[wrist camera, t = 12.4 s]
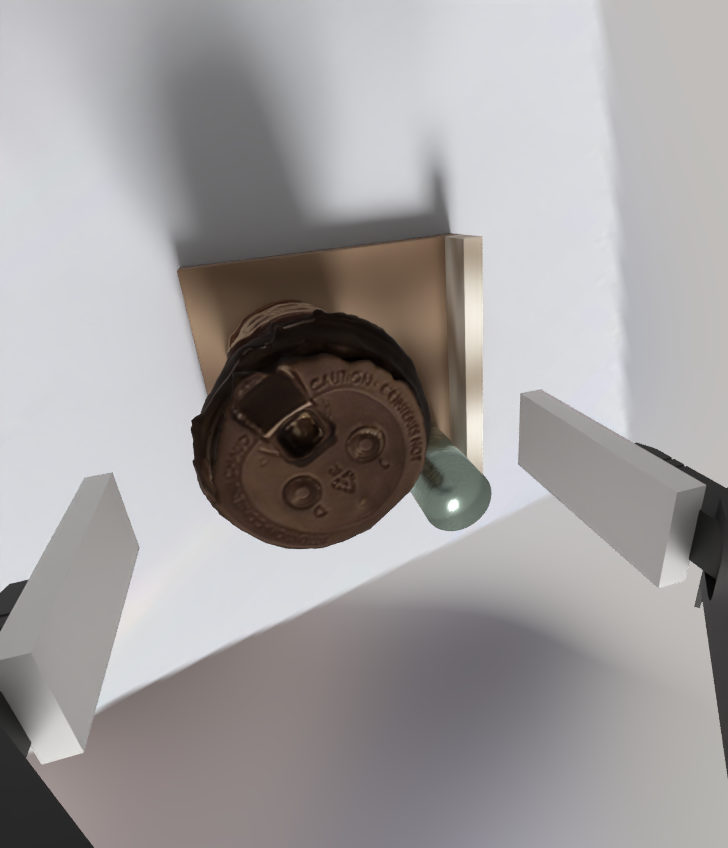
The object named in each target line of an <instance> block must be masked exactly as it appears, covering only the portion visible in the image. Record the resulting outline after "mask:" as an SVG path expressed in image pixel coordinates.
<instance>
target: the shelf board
mask: <svg viewBox="0 0 728 848" xmlns="http://www.w3.org/2000/svg"><path fill="white" fill-rule="evenodd" d="M177 273H178V277H179V281H180V285H181V289H182V293H183V297H184V301H185V306H186V310H187V314H188V318H189V322H190V326H191V330H192V334H193V338H194V342H195V346H196V350H197V354H198V358H199V362H200V366H201V370H202V374H203V378H204V383H205V387H206V391H207V395H209V393H211V391H212V388H213V386H214V384H215V382H216V380H217V378H218V377H219V375H220V373H221V371H222V369H223V367H224V365H225V363H226V361H227V351H228V340H229V337H230V335H231V334H232V333H233V332H234V330H236V328H237V327H238V326H239V324H240V322H241V320H242V319H243V318H244V317H245V316H247V315H248V314H250V313H252V312H253V311H255V310H256V309H258V308H260V307H261V306H263V305H266V304H269V303H272V302H275V301H280V300H283V299H285V300H288V299H295V300H300V301H303V302H306V303H309V304H311V305H315V306H317V307H320V308H322V309H325V310H327V311H329V312H331V313H335V312H344V313H346V314H352V315H356V316H358V317H359V318H362V319H365V320H368V321H370V322H371V323H373V324H376V325H377V326H378V327H380V328H383V329H384V330H385V332H386V333H387V334H389V335H390V336H391V337H393V339H394V340H395V341H396V342H397V343H398V345H399V346H400V347H401V348H402V349H403V350H404V351H405V353H406V354H407V355H408V356H409V357H410V358H411V359H412V361H413V363H414V366H415V368H416V372H417V375H418V377H419V380H420V382H421V384H422V387H423V391H424V394H425V397H426V399H427V402H428V405H429V410H430V415H431V421H432V422H433V423H434V424H435V425H436V426H437V427H438V428H439V429H440V430H441V431H442V432H443V433H444V434H445V435H446V436H447V437H448V438H449V439H450V440H451V442H452V443H453V444H454V445H455V446H456V447H457V448H458V449H459V450H460V451H461V452H462V453H463V454H464V455H465V456H466V457H467V458H468V459H469V460H470V462H471V463H472V464H473V465H474V466H475V467H476V468H477V469H478V470H479V471H480V472H481V473H482V474H483V298H482V236H472V235H462V234H443V235H435V236H427V237H419V238H411V239H404V240H396V241H388V242H380V243H372V244H364V245H356V246H348V247H341V248H333V249H325V250H317V251H309V252H301V253H293V254H285V255H278V256H270V257H262V258H254V259H246V260H238V261H230V262H222V263H215V264H207V265H199V266H191V267H183V268H179V269H178V270H177Z"/></svg>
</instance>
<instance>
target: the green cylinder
mask: <svg viewBox="0 0 728 848" xmlns="http://www.w3.org/2000/svg"><path fill="white" fill-rule="evenodd" d="M425 457H426V462H425V466H424V468H423V469H422V471H421V474H420V475H419V478H418V480H417V481H416V483H415V485H414V487H413V488H412V490H411V491H410V492H411V493H412V495H413V496H414V498H415V500H416V501H417V503H418V504H419V506H420V508H421V509H422V511H423V512H424V514H425V515H426V517H427V519H428V520H429V522H430V523H431V524H432V525H433V526H435V527H436V528H438V529H441V530H445V531H457V530H461V529H464V528H466V527H469V526H470V525H472V524H474V523H475V522H476V521H477V520H479V519H480V518H481V517H482V515H483V514H484V513H485V511H486V510H487V508H488V506H489V503H490V500H491V487H490V484H489V482H488V480H487V479H486V477H485V476H484V475H483V474H482V473H481V472H480V471H479V470H478V469H477V468H476V467H475V466H474V465H473V464H472V463H471V462H470V460H469V459H468V458H467V457H466V456H465V455H464V454H463V453H462V452H461V451H460V450H459V449H458V448H457V447H456V446H455V445H454V444H453V443H452V442H451V440H450V439H449V438H448V437H447V436H446V435H445V434H444V433H443V432H442V431H441V430H440V429H439V428H438V427H437V426H436V425H435V424H434V423H433V422H432V421H431V431H430V440H429V443H428V447H427V451H426V455H425Z"/></svg>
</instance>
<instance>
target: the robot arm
mask: <svg viewBox="0 0 728 848" xmlns="http://www.w3.org/2000/svg"><path fill="white" fill-rule="evenodd" d="M518 464H519V465H520V466H521V467H522V468H523V469H524V470H525V471H526V472H528V473H529V474H530V475H531V476H532V477H533V478H534V479H536V480H537V481H538V482H539V483H540V484H541V485H542V486H543V487H545V488H546V489H547V490H548V491H549V492H550V493H551V494H552V495H554V496H555V497H556V498H557V499H558V500H559V501H560V502H562V503H563V504H564V505H565V506H566V507H567V508H568V509H569V510H571V511H572V512H573V513H574V514H575V515H576V516H578V517H579V518H580V519H581V520H582V521H583V522H584V523H585V524H587V525H588V526H589V527H590V528H591V529H592V530H593V531H594V532H595V533H597V534H598V535H599V536H600V537H601V538H602V539H603V540H605V541H606V542H607V543H608V544H609V545H610V546H611V547H612V548H614V549H615V550H616V551H617V552H618V553H619V554H620V555H621V556H623V557H624V558H625V559H626V560H627V561H628V562H629V563H630V564H632V565H633V566H634V567H635V568H636V569H637V570H638V571H640V572H641V573H642V574H643V575H644V576H645V577H646V578H647V579H649V580H650V581H651V582H652V583H653V584H654V585H655V586H656V587H658V588H662V587H665V586H668V585H672V584H676V583H679V582H683V581H685V580H686V576H687V571H688V566H689V562H690V561H692V562H693V563H694V564H696V565H697V566H698V567H700V568H701V569H702V570H703V572H702V576H701V580H700V585H699V589H698V593H697V597H696V603H695V607H698V608H700V605H701V602H703V607H704V613H705V621H706V628H707V635H708V642H709V649H710V656H711V663H712V670H713V677H714V684H715V691H716V699H717V706H718V713H719V720H720V727H721V734H722V740H723V748H724V755H725V761H726V769H727V775H728V488H725V487H723V486H721V485H720V484H718V483H716V482H714V481H713V480H711V479H709V478H707V477H705V476H704V475H702V474H700V473H698V472H696V471H695V470H693V469H691V468H689V467H688V466H686V467H685V466H684V464H682V463H680V462H679V461H677V460H675V459H673V460H672V459H671V457H670V456H668V455H666V454H664V453H663V452H661V451H659V450H657V449H655V448H652V447H649V446H646V445H642V444H639V443H633V442H631V441H629V440H627V439H626V438H624V437H622V436H620V435H619V434H617V433H615V432H614V431H612V430H610V429H608V428H607V427H605V426H603V425H601V424H600V423H598V422H596V421H595V420H593V419H591V418H589V417H588V416H586V415H584V414H582V413H581V412H579V411H577V410H576V409H574V408H572V407H570V406H569V405H567V404H565V403H563V402H562V401H560V400H558V399H557V398H555V397H553V396H551V395H550V394H548V393H546V392H544V391H543V390H536V391H531V392H525V393H521V396H520V425H519V454H518ZM138 551H139V545H138V543H137V540H136V537H135V534H134V531H133V529H132V526H131V523H130V520H129V517H128V515H127V512H126V509H125V506H124V503H123V501H122V498H121V495H120V492H119V490H118V487H117V484H116V481H115V478H114V476H113V473H107V474H102V475H97V476H92V477H87V478H84V480H83V482H82V483H81V485H80V487H79V489H78V491H77V493H76V494H75V496H74V498H73V500H72V502H71V503H70V505H69V507H68V509H67V511H66V513H65V514H64V516H63V518H62V520H61V522H60V524H59V525H58V527H57V529H56V531H55V533H54V534H53V536H52V538H51V540H50V542H49V544H48V545H47V547H46V549H45V551H44V553H43V555H42V556H41V558H40V560H39V562H38V564H37V565H36V567H35V569H34V571H33V573H32V575H31V576H30V578H29V580H26V581H21V582H17V583H12V584H9V585H8V586H7V587H6V588H5V589H4V590H3V591H2V592H1V593H0V848H94V847H93V846H92V845H91V843H90V842H89V840H88V839H87V838H86V837H85V836H84V834H83V833H82V832H81V830H80V829H79V827H78V826H77V825H76V824H75V822H74V821H73V820H72V818H71V817H70V816H69V814H68V813H67V812H66V810H65V809H64V808H63V806H62V805H61V804H60V803H59V801H58V800H57V799H56V797H55V796H54V795H53V793H52V792H51V791H50V789H49V788H48V787H47V786H46V784H45V783H44V782H43V780H42V779H41V778H40V776H39V775H38V774H37V772H36V771H35V770H34V768H33V767H32V766H31V765H30V763H29V762H28V760H27V759H26V756H27V754H28V751H29V748H30V746H31V748H32V749H33V751H34V753H35V754H36V756H37V757H38V759H39V761H40V763H41V764H46V763H49V762H52V761H56V760H59V759H63V758H66V757H70V756H74V755H77V754H81V753H84V750H85V746H86V742H87V739H88V735H89V731H90V727H91V724H92V720H93V717H94V713H95V709H96V706H97V702H98V698H99V695H100V691H101V687H102V684H103V680H104V676H105V673H106V669H107V665H108V662H109V658H110V654H111V651H112V647H113V643H114V640H115V636H116V632H117V628H118V625H119V621H120V617H121V614H122V610H123V606H124V603H125V599H126V595H127V592H128V588H129V584H130V581H131V577H132V573H133V570H134V566H135V562H136V559H137V555H138Z"/></svg>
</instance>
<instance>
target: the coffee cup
mask: <svg viewBox="0 0 728 848" xmlns="http://www.w3.org/2000/svg"><path fill="white" fill-rule="evenodd" d="M191 422H192V427H191V433H192V437H193V449H194V460H193V465H194V468H195V471H196V473H197V479H198V482H199V485H200V488H201V490H202V492H203V494H204V495H205V496H206V497H207V499H208V500H209V502H210V503H211V505H212V506H213V507H214V508H215V509H216V510H217V511H218V512H219V514H220V515H221V516H223V517H224V518H225V519H227V520H228V521H230V522H231V523H232V524H233V525H235V526H236V527H237V528H239V529H240V530H242V531H244V532H246V533H248V534H250V535H252V536H253V537H255V538H257V539H259V540H261V541H263V542H265V543H268V544H271V545H275V546H279V547H283V548H288V549H309V548H313V549H317V548H324V547H327V546H330V545H333V544H336V543H340V542H343V541H345V540H348V539H350V538H352V537H354V536H356V535H358V534H360V533H363V532H365V531H367V530H369V529H371V527H373V526H374V525H375V524H376V523H377V522H378V521H379V520H380V519H381V518H383V517H384V516H385V515H386V514H387V513H388V512H389V511H390V510H391V509H392V508H393V507H394V506H395V505H396V504H397V503H398V502H399V501H400V500H401V499H402V498H403V497H404V496H405V495H406V494H408V493H409V492H410V491H411V490H412V488H413V487H414V485H415V483H416V481H417V480H418V478H419V475H420V474H421V471H422V469H423V468H424V466H425V462H426V457H425V455H426V451H427V447H428V443H429V440H430V431H431V415H430V410H429V405H428V402H427V399H426V397H425V394H424V391H423V387H422V384H421V382H420V380H419V377H418V375H417V372H416V368H415V366H414V363H413V361H412V359H411V358H410V357H409V356H408V355H407V354H406V353H405V351H404V350H403V349H402V348H401V347H400V346H399V345H398V343H397V342H396V341H395V340H394V339H393V337H391V336H390V335H389V334H387V333H386V332H385V330H384V329H383V328H380V327H378V326H377V325H376V324H373V323H371V322H370V321H368V320H365V319H362V318H359V317H358V316H356V315H352V314H346V313H344V312H335V313H331V312H329V311H327V310H325V309H322V308H320V307H317V306H315V305H311V304H309V303H306V302H303V301H300V300H295V299H288V300H285V299H283V300H280V301H275V302H272V303H269V304H266V305H263V306H261V307H260V308H258V309H256V310H255V311H253V312H252V313H250V314H248V315H247V316H245V317H244V318H243V319H242V320H241V322H240V324H239V326H238V327H237V328H236V330H234V332H233V333H232V334H231V335H230V337H229V340H228V351H227V361H226V363H225V365H224V367H223V369H222V371H221V373H220V375H219V377H218V378H217V380H216V382H215V384H214V386H213V388H212V391H211V393H209V395H208V396H207V398H206V400H205V403H204V405H203V408H202V411H201V414H200V415H198V416H196V417H195V418H194V419H193V420H191Z"/></svg>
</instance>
